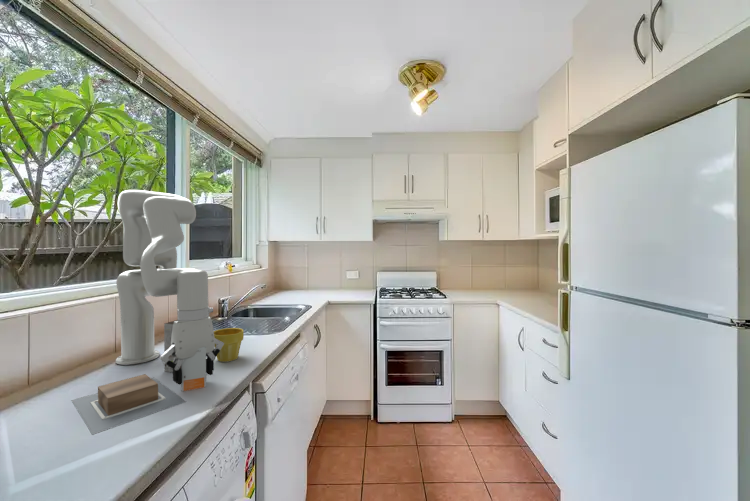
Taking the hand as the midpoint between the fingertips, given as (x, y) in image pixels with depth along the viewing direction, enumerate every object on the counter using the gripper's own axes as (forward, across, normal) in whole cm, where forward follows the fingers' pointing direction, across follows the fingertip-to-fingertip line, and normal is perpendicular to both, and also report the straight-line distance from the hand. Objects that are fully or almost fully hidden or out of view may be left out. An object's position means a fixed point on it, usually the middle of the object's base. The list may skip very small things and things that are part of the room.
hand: (194, 377), depth 90 cm
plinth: (+2, +14, -4) cm, 15 cm away
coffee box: (+4, -4, -18) cm, 19 cm away
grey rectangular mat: (+3, +14, -4) cm, 15 cm away
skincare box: (+4, 0, 0) cm, 4 cm away
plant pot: (+4, -18, -17) cm, 25 cm away
